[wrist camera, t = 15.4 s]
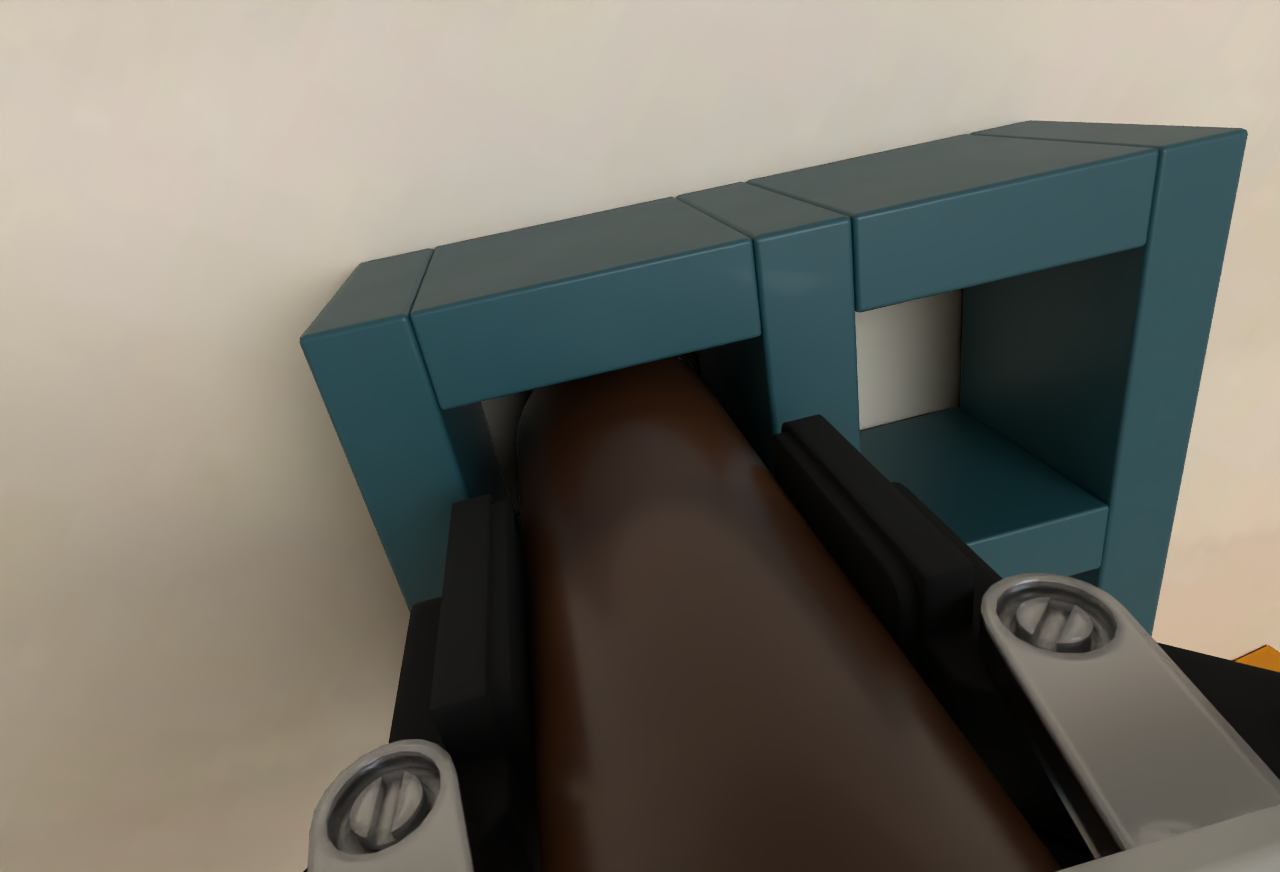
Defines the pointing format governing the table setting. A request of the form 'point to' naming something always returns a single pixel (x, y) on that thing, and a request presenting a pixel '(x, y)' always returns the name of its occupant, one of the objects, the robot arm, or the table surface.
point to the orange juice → (1263, 659)
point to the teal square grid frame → (835, 335)
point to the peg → (720, 662)
